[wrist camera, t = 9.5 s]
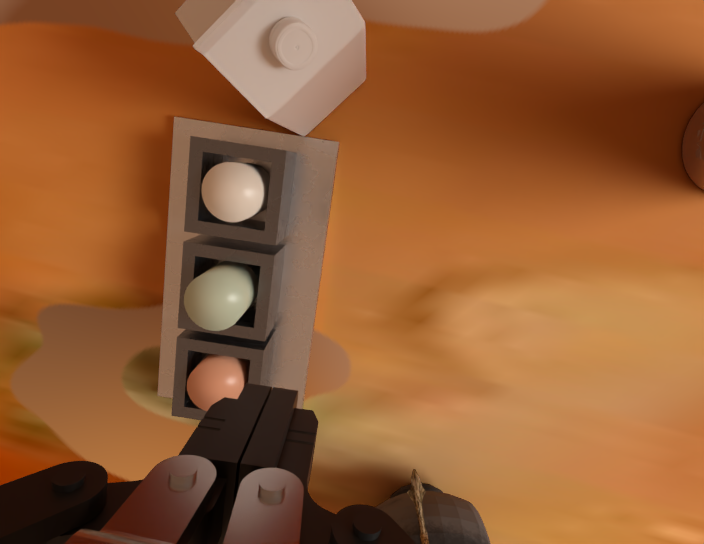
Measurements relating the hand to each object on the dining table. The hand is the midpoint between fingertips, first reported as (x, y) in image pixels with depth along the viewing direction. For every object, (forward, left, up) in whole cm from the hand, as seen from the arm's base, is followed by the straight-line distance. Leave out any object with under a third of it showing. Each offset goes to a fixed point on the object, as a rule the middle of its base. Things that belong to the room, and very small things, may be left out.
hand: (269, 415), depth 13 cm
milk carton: (+4, -14, -29) cm, 33 cm away
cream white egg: (+8, -4, -27) cm, 29 cm away
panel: (+8, +4, -29) cm, 30 cm away
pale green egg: (+8, +4, -25) cm, 27 cm away
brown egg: (+8, +12, -27) cm, 31 cm away
